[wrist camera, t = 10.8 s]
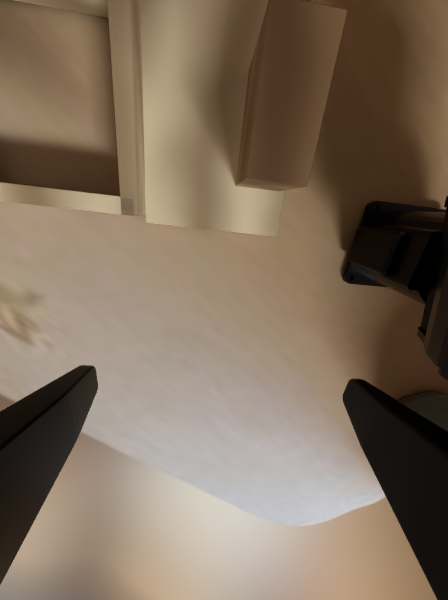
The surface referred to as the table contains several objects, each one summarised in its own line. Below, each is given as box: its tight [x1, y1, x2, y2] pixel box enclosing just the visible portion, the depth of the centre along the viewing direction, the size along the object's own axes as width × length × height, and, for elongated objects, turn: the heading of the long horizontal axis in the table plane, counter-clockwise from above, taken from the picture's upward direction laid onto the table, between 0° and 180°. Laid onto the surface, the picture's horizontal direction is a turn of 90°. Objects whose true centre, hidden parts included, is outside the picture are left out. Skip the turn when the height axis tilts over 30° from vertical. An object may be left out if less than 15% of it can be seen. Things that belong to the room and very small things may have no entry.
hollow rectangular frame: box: [0, 0, 347, 237], centre depth 11 cm, size 20×12×6 cm, turn 84°
